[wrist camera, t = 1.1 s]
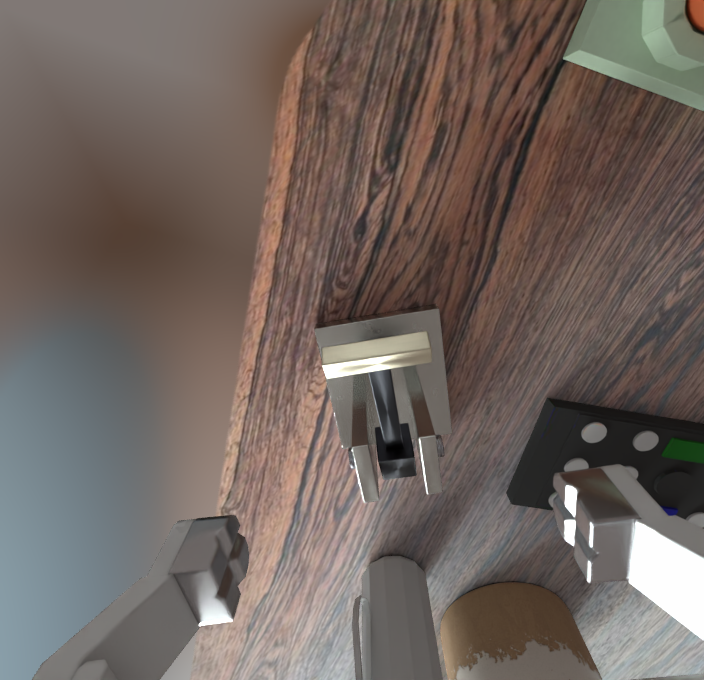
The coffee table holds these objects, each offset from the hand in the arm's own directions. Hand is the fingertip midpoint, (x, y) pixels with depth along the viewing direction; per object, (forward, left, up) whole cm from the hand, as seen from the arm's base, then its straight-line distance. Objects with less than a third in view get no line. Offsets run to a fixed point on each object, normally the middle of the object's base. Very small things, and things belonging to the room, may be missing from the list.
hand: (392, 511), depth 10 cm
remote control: (+34, +11, -24) cm, 43 cm away
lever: (+4, -2, -13) cm, 13 cm away
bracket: (+8, -4, -24) cm, 25 cm away
